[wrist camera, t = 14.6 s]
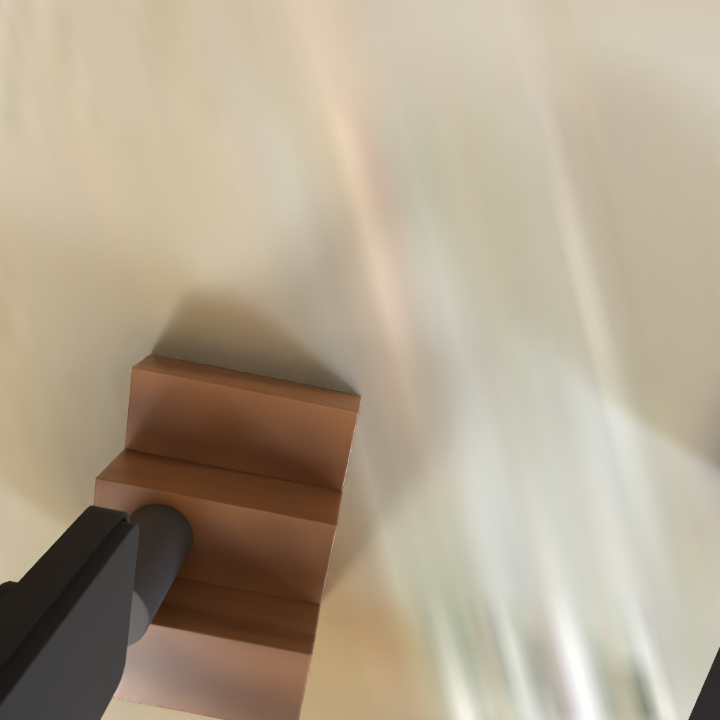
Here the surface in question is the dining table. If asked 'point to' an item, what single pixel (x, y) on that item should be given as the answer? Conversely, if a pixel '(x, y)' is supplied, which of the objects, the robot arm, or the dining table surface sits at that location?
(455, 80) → the dining table surface
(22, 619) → the robot arm
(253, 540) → the step rack
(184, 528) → the cylinder
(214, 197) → the dining table surface
